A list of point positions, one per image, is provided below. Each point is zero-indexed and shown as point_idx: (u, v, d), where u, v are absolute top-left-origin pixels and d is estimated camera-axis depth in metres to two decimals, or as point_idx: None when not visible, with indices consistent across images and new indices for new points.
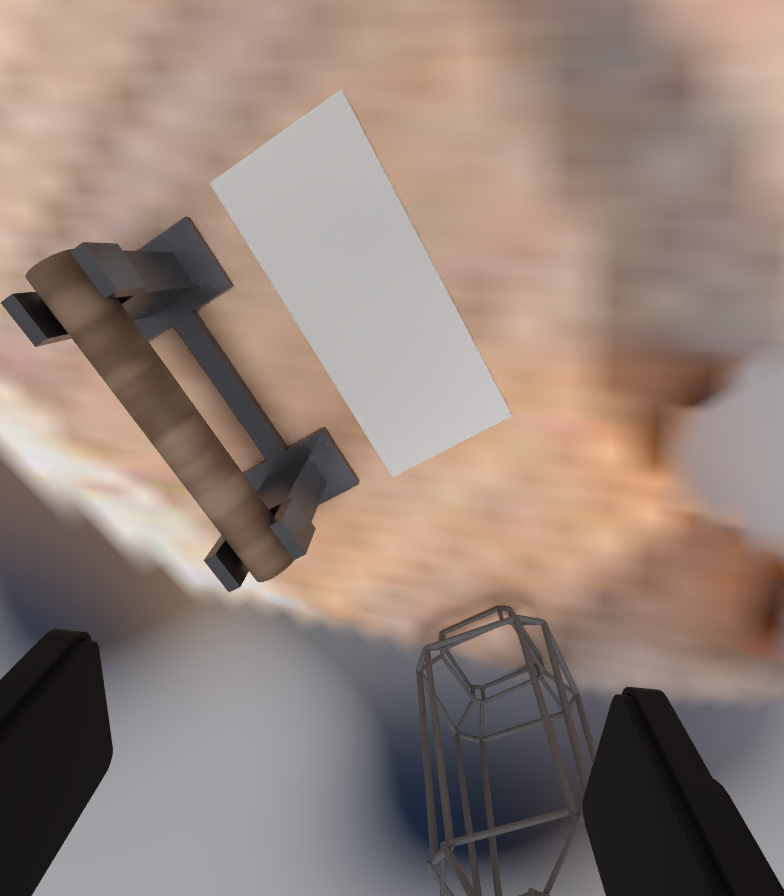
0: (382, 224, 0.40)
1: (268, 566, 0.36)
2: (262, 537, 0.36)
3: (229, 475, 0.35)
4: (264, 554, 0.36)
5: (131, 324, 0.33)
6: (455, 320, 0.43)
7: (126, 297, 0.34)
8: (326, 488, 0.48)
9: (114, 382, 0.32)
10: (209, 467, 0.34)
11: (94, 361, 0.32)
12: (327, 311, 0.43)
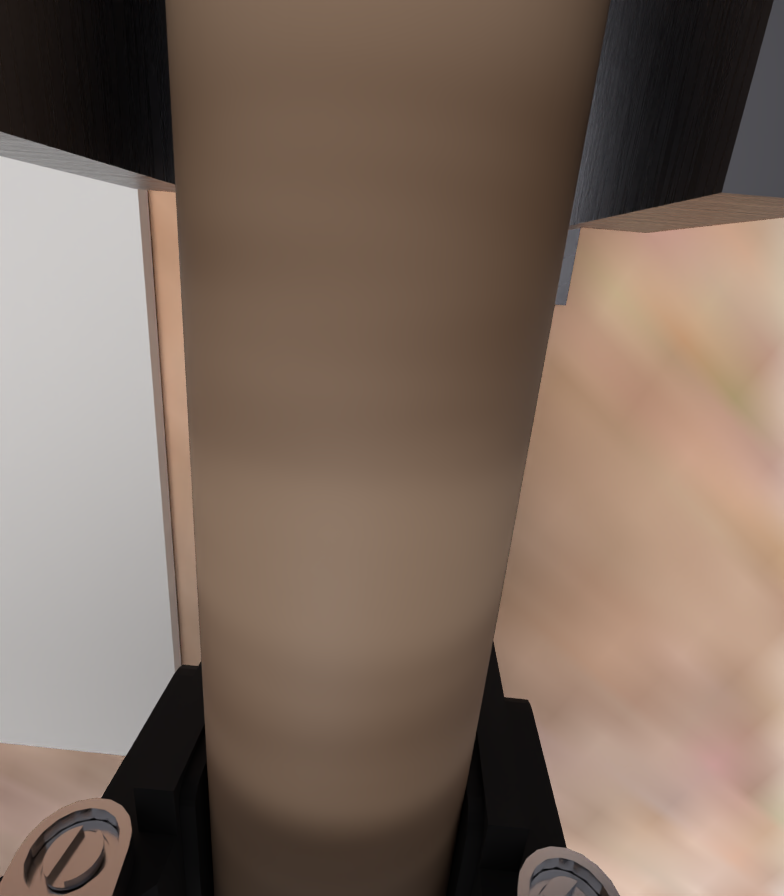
0: None
1: None
2: (199, 51, 0.04)
3: (198, 591, 0.06)
4: None
5: None
6: None
7: None
8: None
9: None
10: (226, 727, 0.06)
11: None
12: (87, 503, 0.19)
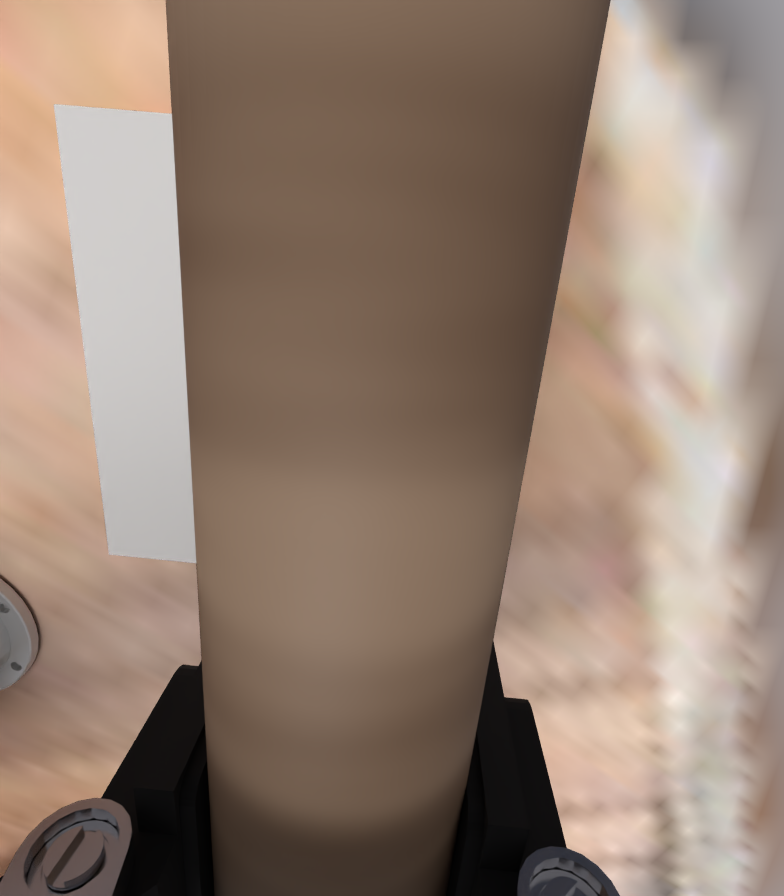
0: (123, 437, 0.35)
1: None
2: (200, 49, 0.04)
3: (198, 590, 0.06)
4: None
5: None
6: (85, 290, 0.31)
7: None
8: None
9: None
10: (226, 725, 0.06)
11: None
12: None
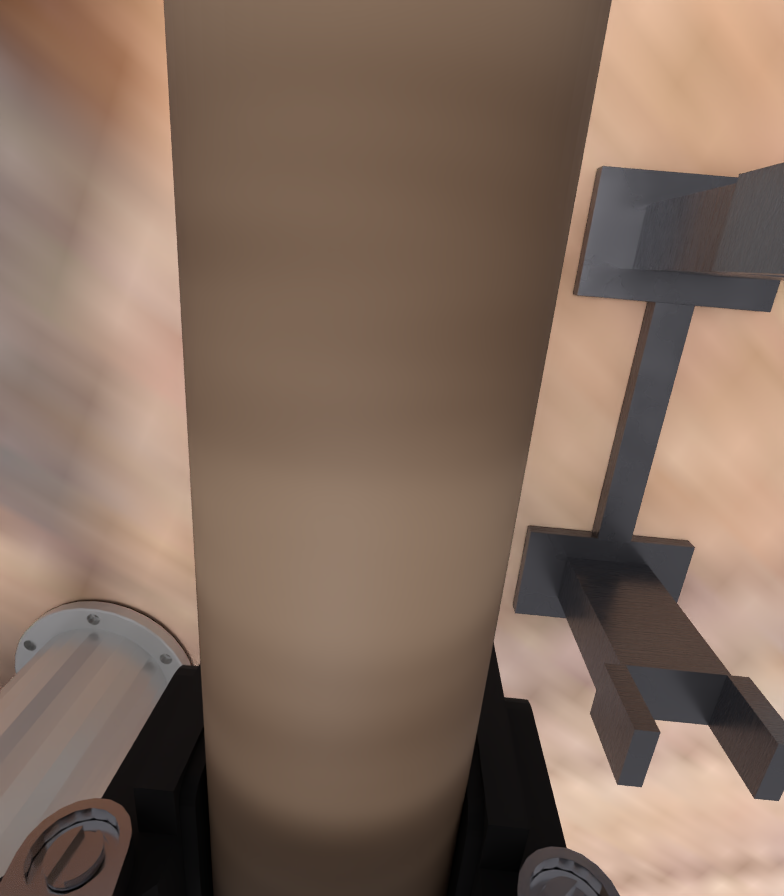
0: None
1: None
2: (197, 42, 0.03)
3: (197, 589, 0.06)
4: None
5: None
6: None
7: (638, 669, 0.24)
8: (655, 195, 0.26)
9: None
10: (225, 726, 0.05)
11: None
12: None
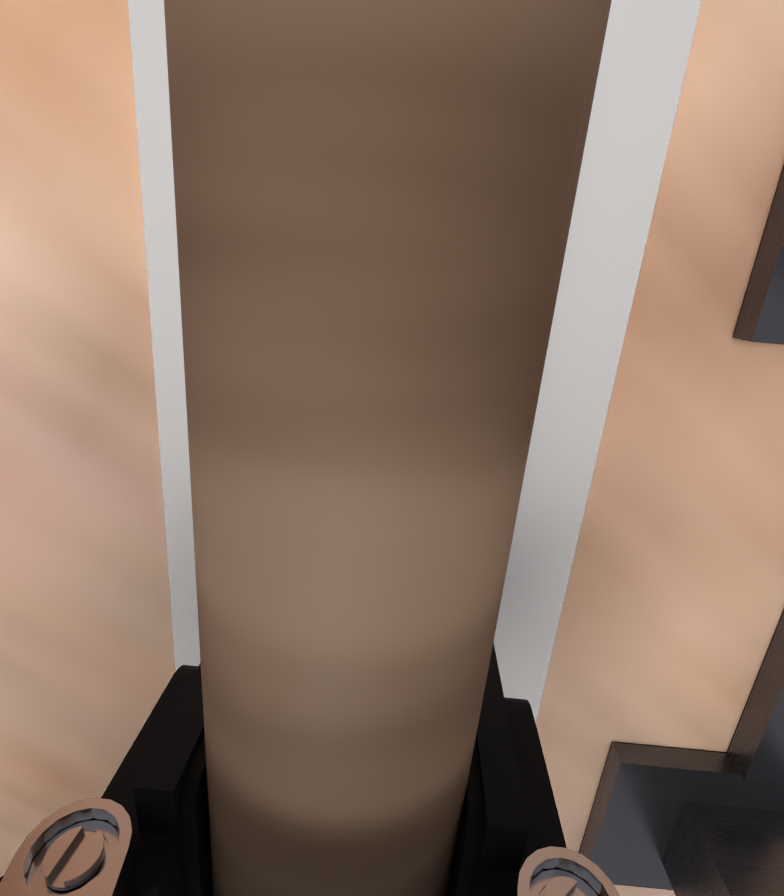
0: None
1: None
2: (197, 39, 0.03)
3: (197, 588, 0.06)
4: None
5: None
6: (175, 389, 0.14)
7: None
8: None
9: None
10: (225, 726, 0.05)
11: None
12: None
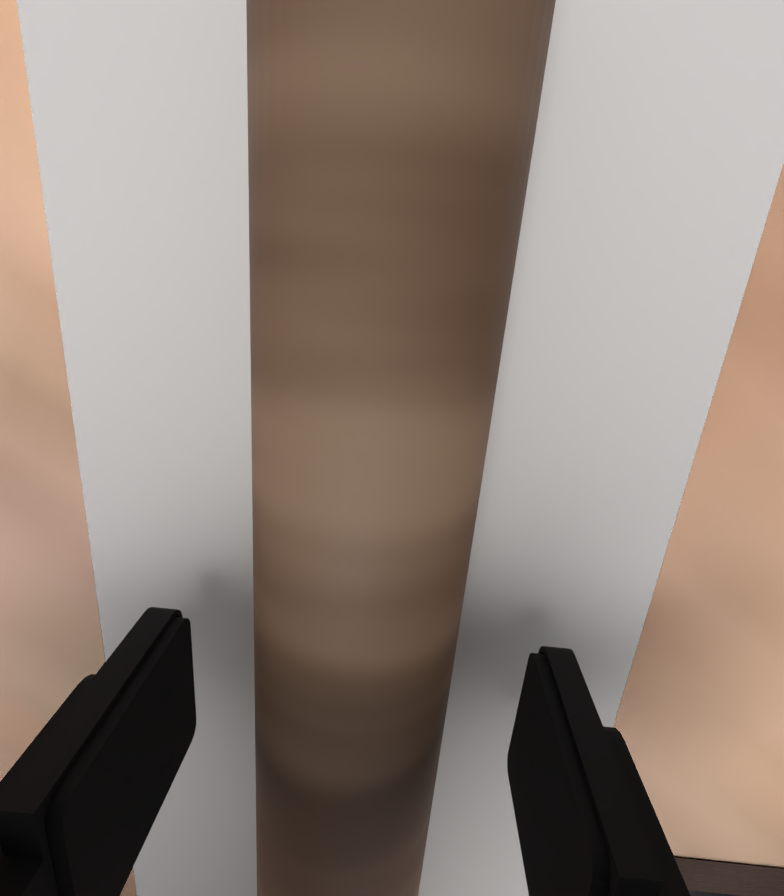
0: (194, 771, 0.13)
1: None
2: (277, 127, 0.06)
3: (255, 502, 0.08)
4: None
5: None
6: (99, 423, 0.10)
7: None
8: None
9: None
10: (277, 600, 0.08)
11: None
12: (498, 697, 0.12)
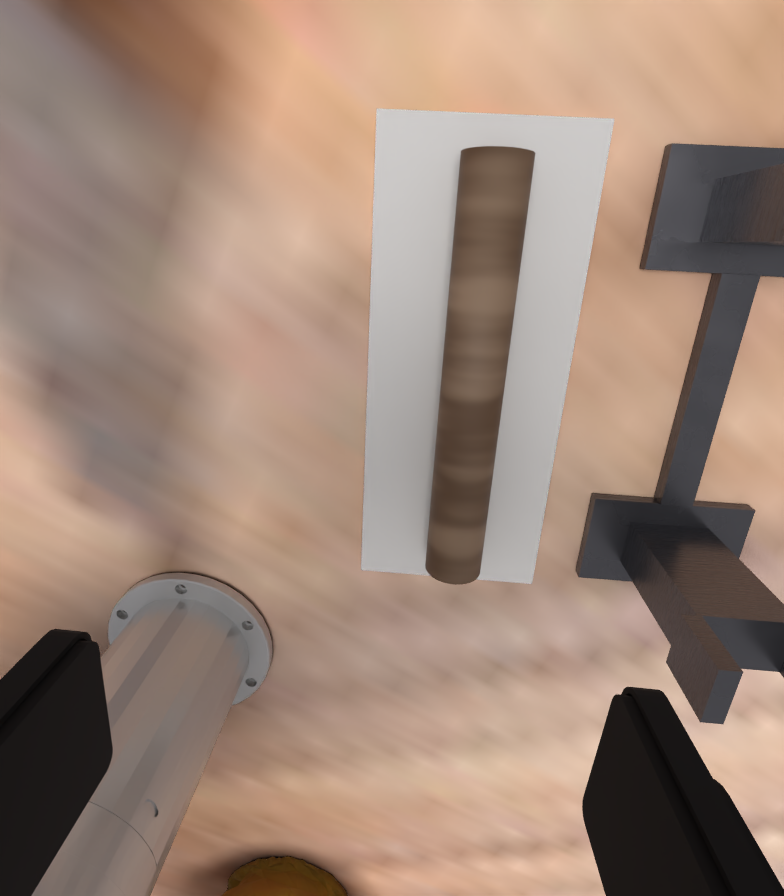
0: (395, 451, 0.34)
1: (496, 167, 0.24)
2: (474, 214, 0.25)
3: (454, 312, 0.27)
4: (488, 188, 0.25)
5: (431, 497, 0.32)
6: (379, 302, 0.30)
7: (714, 620, 0.26)
8: (723, 170, 0.27)
9: (478, 473, 0.30)
10: (463, 339, 0.27)
11: (480, 497, 0.31)
12: (516, 408, 0.32)
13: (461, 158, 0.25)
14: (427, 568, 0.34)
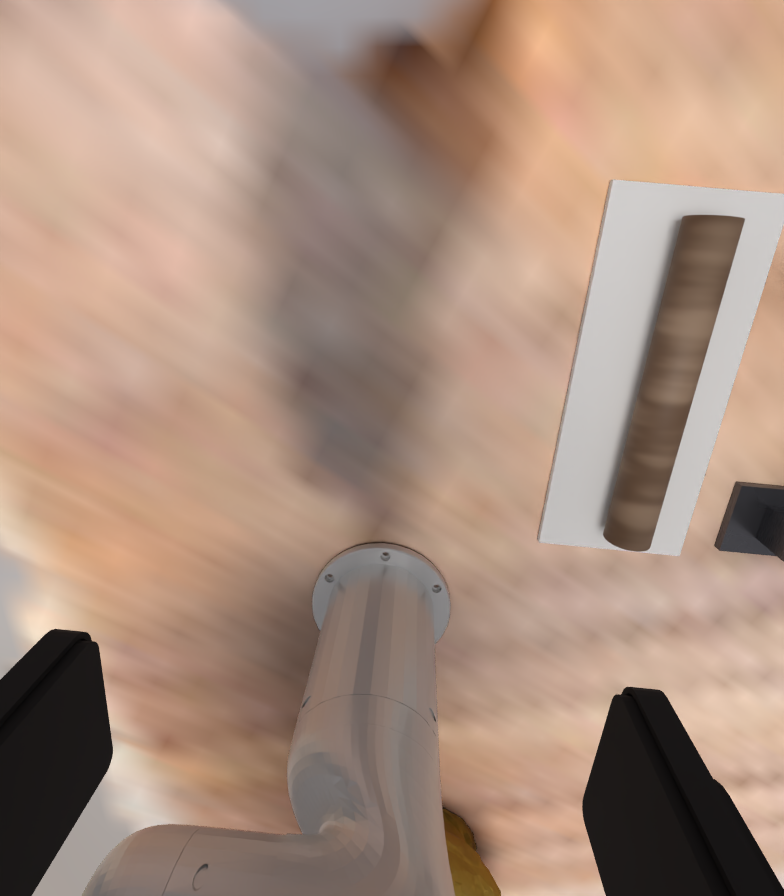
0: (584, 444, 0.42)
1: (723, 230, 0.33)
2: (700, 263, 0.34)
3: (669, 336, 0.36)
4: (715, 245, 0.33)
5: (621, 481, 0.40)
6: (590, 324, 0.38)
7: None
8: None
9: (670, 460, 0.38)
10: (676, 356, 0.36)
11: (667, 480, 0.39)
12: None
13: (688, 221, 0.34)
14: (611, 540, 0.41)
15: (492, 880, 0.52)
